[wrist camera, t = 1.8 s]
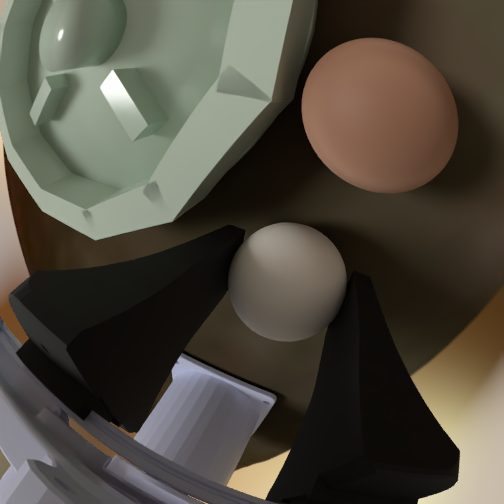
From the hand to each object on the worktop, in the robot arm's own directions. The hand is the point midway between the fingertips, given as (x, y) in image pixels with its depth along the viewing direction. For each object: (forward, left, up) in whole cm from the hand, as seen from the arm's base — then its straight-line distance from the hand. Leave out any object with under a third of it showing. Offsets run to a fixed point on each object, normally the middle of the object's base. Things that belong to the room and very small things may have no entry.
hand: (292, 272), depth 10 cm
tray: (+8, +11, -1) cm, 13 cm away
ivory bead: (0, 0, -1) cm, 1 cm away
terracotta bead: (+6, -1, -1) cm, 6 cm away
